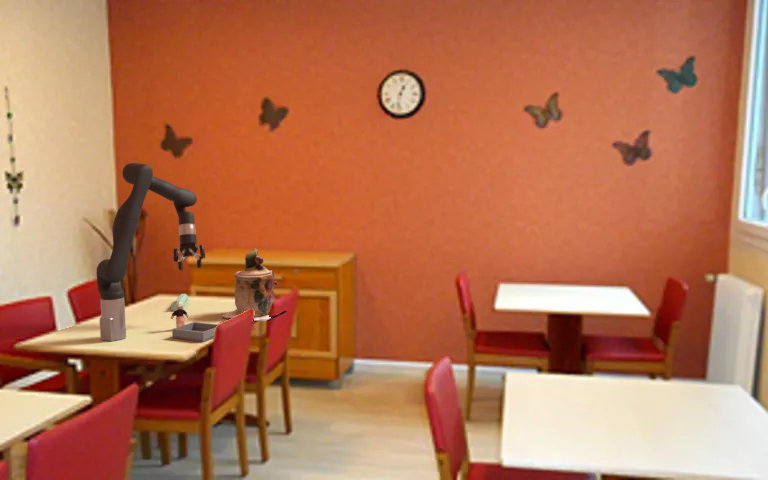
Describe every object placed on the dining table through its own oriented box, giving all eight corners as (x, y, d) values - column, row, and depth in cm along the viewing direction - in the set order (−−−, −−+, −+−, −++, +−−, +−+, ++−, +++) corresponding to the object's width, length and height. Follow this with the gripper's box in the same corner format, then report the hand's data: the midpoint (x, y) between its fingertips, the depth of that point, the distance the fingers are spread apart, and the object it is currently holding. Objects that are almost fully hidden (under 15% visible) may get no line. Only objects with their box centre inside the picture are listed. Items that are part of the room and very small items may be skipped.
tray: (203, 342, 276) (203, 332, 276) (172, 338, 283) (172, 329, 282) (224, 334, 289) (224, 325, 289) (194, 330, 295) (193, 321, 295)
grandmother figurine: (186, 327, 301) (185, 299, 300) (190, 329, 298) (189, 301, 297) (169, 330, 296) (168, 302, 295) (173, 332, 293) (172, 303, 292)
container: (180, 290, 358) (173, 298, 334) (191, 294, 359) (185, 303, 335) (176, 300, 358) (169, 309, 334) (187, 304, 359) (180, 314, 335)
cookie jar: (220, 318, 318) (217, 251, 315) (245, 308, 342) (243, 245, 338) (267, 322, 311) (265, 253, 307) (290, 311, 334) (288, 247, 331)
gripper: (169, 235, 308) (172, 270, 306) (199, 231, 307) (201, 266, 305) (176, 237, 316) (179, 271, 314) (205, 233, 314) (208, 268, 312)
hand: (190, 269), depth 309 cm, fingers open, 8 cm apart
